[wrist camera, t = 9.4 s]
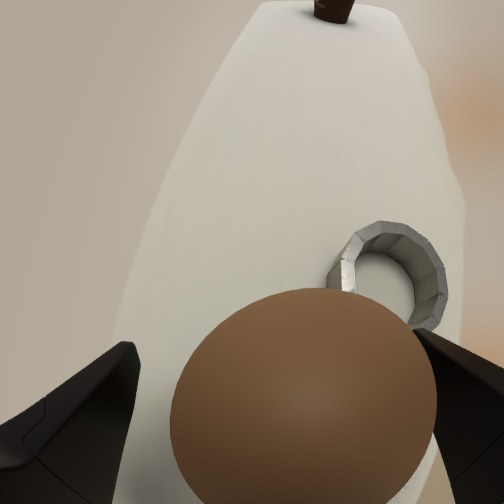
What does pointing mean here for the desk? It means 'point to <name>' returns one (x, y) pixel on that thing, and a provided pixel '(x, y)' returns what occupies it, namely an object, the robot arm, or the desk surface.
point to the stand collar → (407, 253)
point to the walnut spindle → (304, 403)
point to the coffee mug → (333, 10)
